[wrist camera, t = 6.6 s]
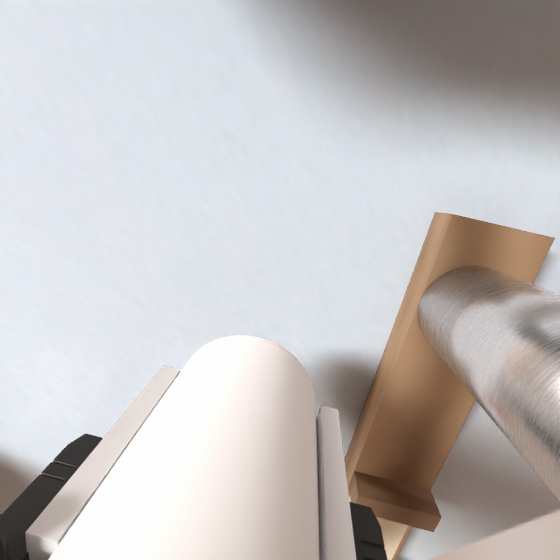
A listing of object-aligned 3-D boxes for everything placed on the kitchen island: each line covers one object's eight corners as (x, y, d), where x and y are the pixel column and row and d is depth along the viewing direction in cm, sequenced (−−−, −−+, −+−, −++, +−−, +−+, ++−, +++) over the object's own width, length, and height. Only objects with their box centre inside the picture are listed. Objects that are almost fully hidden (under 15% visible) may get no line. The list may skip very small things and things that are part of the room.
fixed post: (403, 341, 20) (537, 543, 8) (437, 255, 18) (663, 358, 7) (493, 363, 20) (755, 600, 8) (535, 278, 18) (942, 426, 6)
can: (337, 419, 14) (439, 1278, 3) (226, 456, 16) (13, 1139, 5) (275, 308, 13) (37, 1150, 2) (159, 361, 14) (-400, 1006, 3)
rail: (317, 533, 29) (318, 593, 24) (435, 212, 20) (470, 216, 15) (378, 549, 28) (390, 612, 24) (524, 232, 20) (586, 243, 15)
